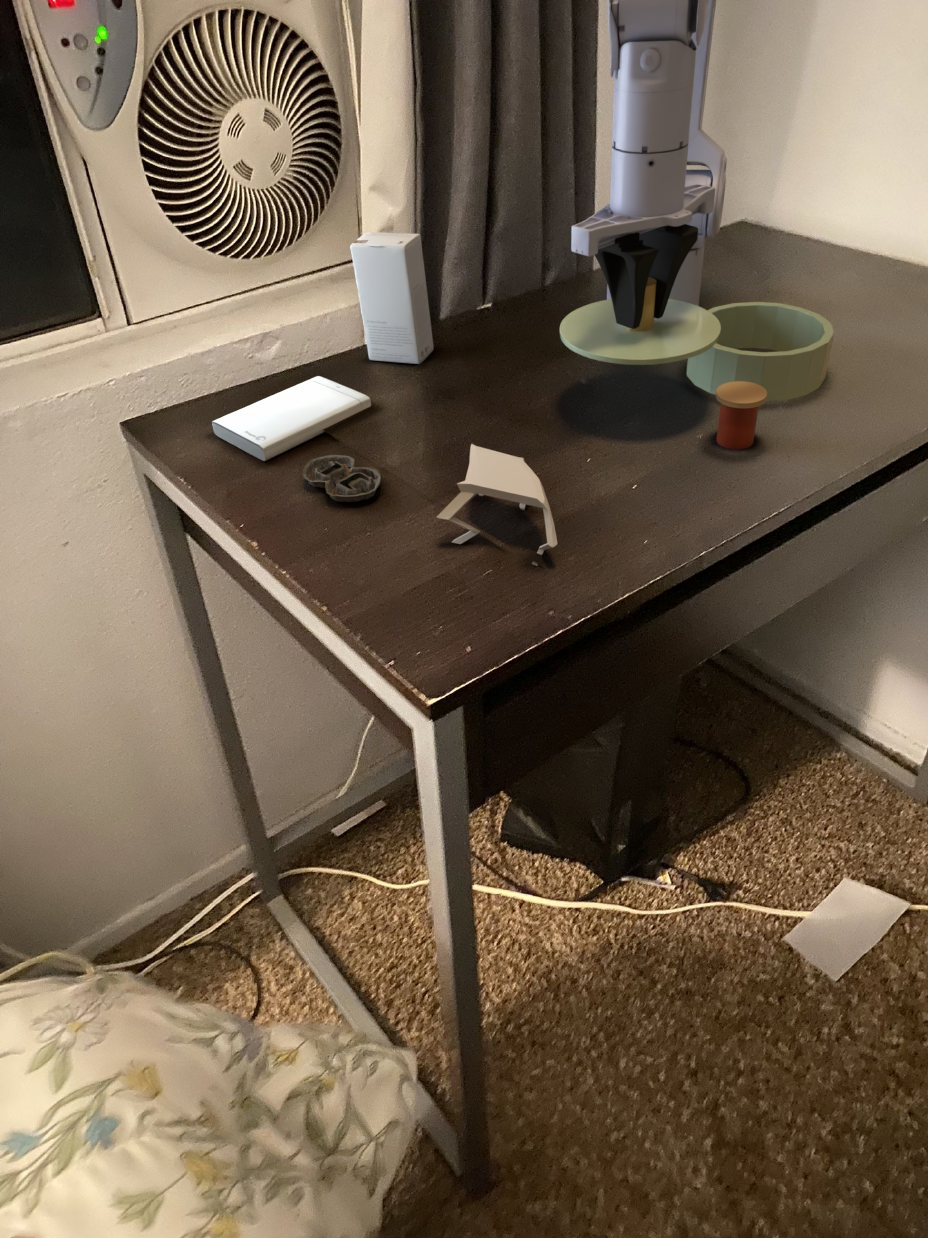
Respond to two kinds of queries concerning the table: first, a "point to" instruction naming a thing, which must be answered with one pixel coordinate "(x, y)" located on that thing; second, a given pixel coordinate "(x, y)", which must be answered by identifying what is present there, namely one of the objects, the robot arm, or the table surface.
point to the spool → (738, 413)
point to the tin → (766, 328)
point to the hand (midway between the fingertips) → (639, 319)
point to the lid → (641, 332)
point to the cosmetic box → (393, 296)
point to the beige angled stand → (499, 490)
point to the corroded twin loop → (342, 478)
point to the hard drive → (289, 417)
